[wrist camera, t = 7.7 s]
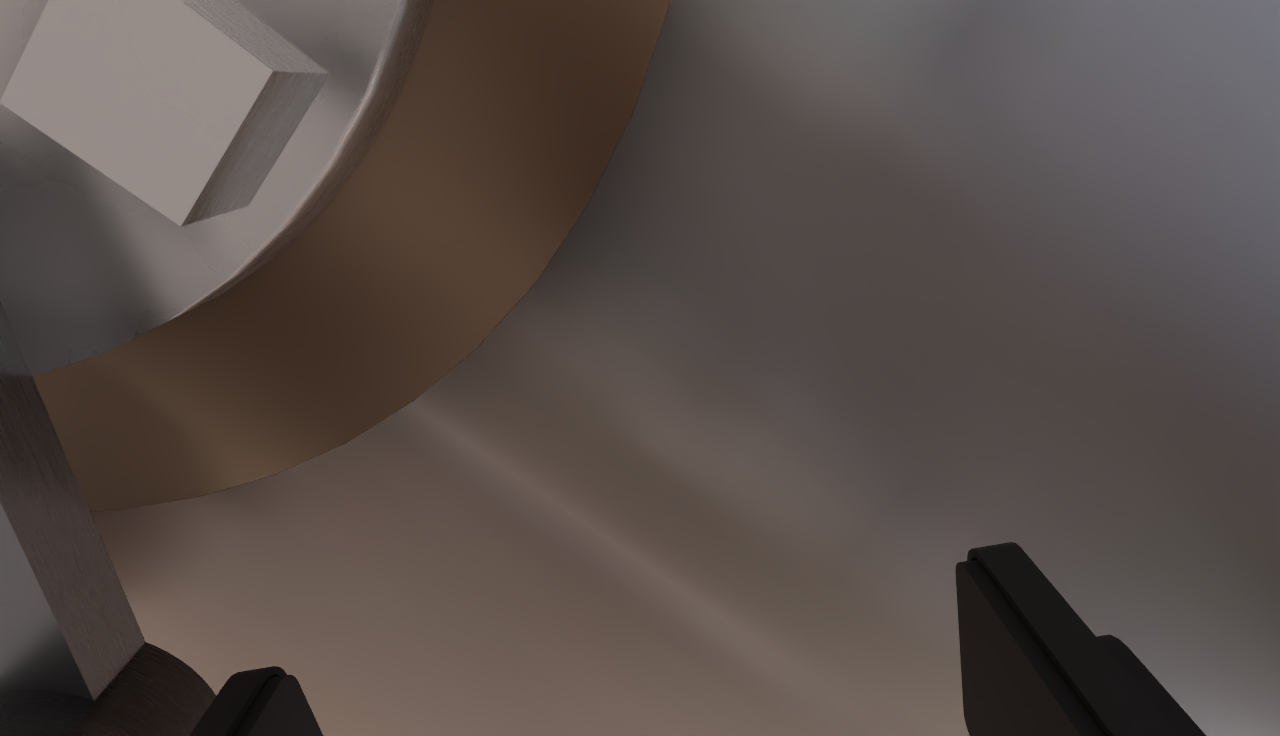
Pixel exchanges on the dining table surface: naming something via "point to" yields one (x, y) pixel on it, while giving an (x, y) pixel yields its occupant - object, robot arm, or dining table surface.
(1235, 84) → the dining table surface
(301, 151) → the crank handle
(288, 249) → the base
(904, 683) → the dining table surface
